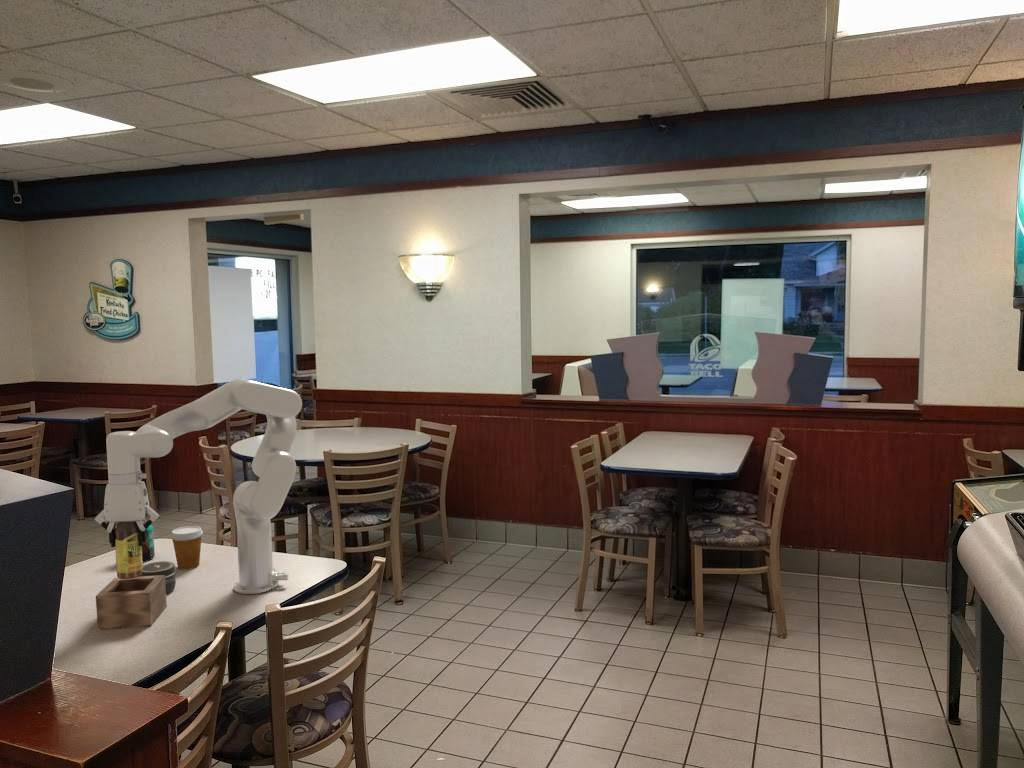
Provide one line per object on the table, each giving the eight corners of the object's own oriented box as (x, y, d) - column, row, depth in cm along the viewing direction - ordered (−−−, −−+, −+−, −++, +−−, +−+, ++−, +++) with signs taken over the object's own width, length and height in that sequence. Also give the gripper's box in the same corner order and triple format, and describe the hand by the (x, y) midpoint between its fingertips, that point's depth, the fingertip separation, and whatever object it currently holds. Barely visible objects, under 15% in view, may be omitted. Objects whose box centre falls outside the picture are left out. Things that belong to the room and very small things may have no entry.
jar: (158, 583, 223) (157, 559, 222) (184, 587, 220) (182, 562, 219) (130, 595, 214) (129, 570, 213) (157, 600, 210) (155, 574, 210)
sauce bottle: (132, 581, 193) (127, 506, 191) (111, 579, 195) (106, 505, 193) (149, 572, 200) (144, 500, 198) (128, 571, 201) (124, 499, 199)
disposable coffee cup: (197, 571, 233) (195, 534, 232) (166, 571, 233) (164, 534, 232) (209, 561, 243) (207, 525, 241) (180, 561, 243) (178, 525, 241)
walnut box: (166, 606, 206) (164, 575, 205) (151, 626, 193) (149, 592, 192) (116, 609, 204) (114, 577, 203) (97, 629, 191) (95, 596, 190)
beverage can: (126, 562, 242) (124, 526, 241) (140, 555, 249) (138, 520, 248) (145, 563, 241) (143, 527, 240) (159, 556, 248) (157, 521, 247)
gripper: (164, 474, 200) (167, 539, 201) (95, 476, 197) (99, 542, 199) (155, 480, 192) (158, 548, 194) (83, 483, 190) (87, 551, 191)
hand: (128, 544), depth 196 cm, fingers closed on sauce bottle, 6 cm apart
